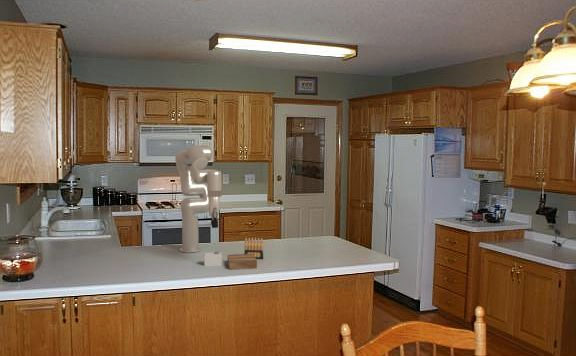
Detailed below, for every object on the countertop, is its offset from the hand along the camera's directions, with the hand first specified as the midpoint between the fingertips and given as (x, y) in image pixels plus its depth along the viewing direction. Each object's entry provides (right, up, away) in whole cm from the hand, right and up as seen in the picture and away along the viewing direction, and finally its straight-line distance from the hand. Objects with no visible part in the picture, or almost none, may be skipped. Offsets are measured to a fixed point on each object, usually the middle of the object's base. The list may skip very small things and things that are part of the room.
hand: (214, 226), depth 269 cm
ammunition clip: (+20, -20, +15) cm, 32 cm away
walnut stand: (+15, -21, 0) cm, 25 cm away
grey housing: (-1, -21, +1) cm, 21 cm away
